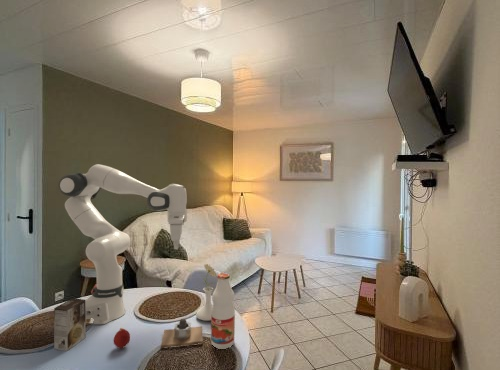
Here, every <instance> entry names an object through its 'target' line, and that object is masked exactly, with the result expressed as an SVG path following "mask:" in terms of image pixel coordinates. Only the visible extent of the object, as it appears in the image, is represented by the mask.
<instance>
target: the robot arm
mask: <svg viewBox="0 0 500 370" xmlns="http://www.w3.org/2000/svg"><path fill="white" fill-rule="evenodd" d="M58 190H59V192H60V193H61V194H63V195H64V196H67V197H69V198H68V199H66V201H65V202H64V208H65V210H66V212H67V214H68V216H69V217H70V219H71V220H72V222H73V223H74V225H75V226H76V227H77V228H78V230H80V232H81V233H82V234H83V235H84V236H86V237H90V238H92V239H93V240H92V241H91V242H89V243H88V244H87V246H86V248H85V255H86V257H87V259H88V260H89V261H90V262H92V263H93V266H94V268H95V273H96V284H94V286H93V287H92V289H91V290H90V293H91V295H90V296H89V297H88V298H87V299H84V300H85V313H86V319H90V318H93V319H94V321H93V323H94V324H93V325H106V324H108V323H110V322H111V321H114V320H117V319H120V318H121V317H122V316H124V315H125V313H126V311H127V310H126V307H125V303H124V298H123V297H124V296H123V295H124V283H123V268H122V266H121V265H120V264H119V263H118V259H117V257H118V255H119V254H122V253H124V252H125V251H126V250H127V249H128V248H130V247H129V246H131V237H130V235H129V234H128V233H127V232H123V231H121V230H119V229H118V228H116V227H115V226H113V224H111V223H110V222H109V221H108V220H106V219H105V218H104V216H103V215H102V214H101V212H100V211H98V209H97V208H96V207H95V206H94V204H93V203H92V201H91V200H93V199H95V198H96V197H97V195H98V194H99V193H100V192H101V191H102V190H105V191H108V192H109V193H114V194H118V195H138V196H142V197H143V198H146V203H147V206H148V208H149V209H151V210H152V211H155V212H159V211H165V210H167V222H168V225H169V228H170V233H169V234H170V239H171V242H173V249H174V250H179V245H180V244H181V243H180V241H181V236H182V233H183V226H184V225H185V222H187V221H188V220H187V217H188V215H187V214H188V212H187V211H188V210H187V203H188V198H187V197H188V196H187V189H186V187H185V186H184V185H182V184H178V183H170V184H168V185H167V186H166V187H164V188H162V189H159V188H157V187H154V186H151V185H148V184H146V183H144V182H141V181H140V180H137V179H136V178H134V177H132V176H130V175H128V174H127V173H125V172H123V171H120V170H119V169H116V168H114V167H111V166H108V165H105V164H99V163H98V164H97V163H96V164H94V165H92V166H91V167H89V169H88V171H87V172H86V173H82V172H76V173H70V174H66V175H64V176H62V177H61V178H60V179H59V181H58Z"/></svg>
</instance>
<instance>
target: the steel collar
mask: <svg viewBox="0 0 500 370" xmlns="http://www.w3.org/2000/svg"><path fill="white" fill-rule="evenodd" d="M191 325H192V323H191V322H188V321H186V328H185V329H179V322H178V323H176V324H174V328H173V329H174V338H175V339H177V340H186V339H187V338H189V337H190V336H191V327H192V326H191Z"/></svg>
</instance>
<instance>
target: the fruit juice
mask: <svg viewBox="0 0 500 370" xmlns="http://www.w3.org/2000/svg"><path fill="white" fill-rule="evenodd" d="M216 277H217V283H216V287H215V289H213V291H212V293H211V300H212V301H211V302H212V305H213V306H212V311H211V320H210V321H211V323H210V326H211V329H210V332H211V333H210V343H211V344H210V345H211V346H212V345H213V346H214V347H216V348H218V349H226V348H228V347H230V346H232V345H233V346H234V344H235V328H236V327H235V325H236V322H235V318H236V314H235V312H236V308H235V305H234V301H235V292H234V290H233V289H232V286H231V283H230V278H231V277H230V273H227V272H219V273H218V274H217V275H216ZM213 346H212V347H213ZM233 346H232V347H233ZM214 347H213V348H214ZM218 349H217V350H218ZM226 350H227V349H226Z"/></svg>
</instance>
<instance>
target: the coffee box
mask: <svg viewBox="0 0 500 370" xmlns="http://www.w3.org/2000/svg"><path fill="white" fill-rule="evenodd" d="M85 300H86V299H81V298H75V297H73V298H70V299H69V300H66V301H65V302H63V303H61V304H60V305H57V306H55V307H54V308H53V314H54V315H53V316H54V317H53V320H54V321H53V323H54V324H53V325H54V327H53V330H54V333H53V336H54V337H53V342H54V343H53V344H54V345H53V349H54V350H59V351H65V352H68V351H70V350H71V349H72V348H73V347H75V346H76V345H78V344H79V343H80V342H81V341H83V340H84V339H86V331H87V330H86V325H87V324H86V313H85Z"/></svg>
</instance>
